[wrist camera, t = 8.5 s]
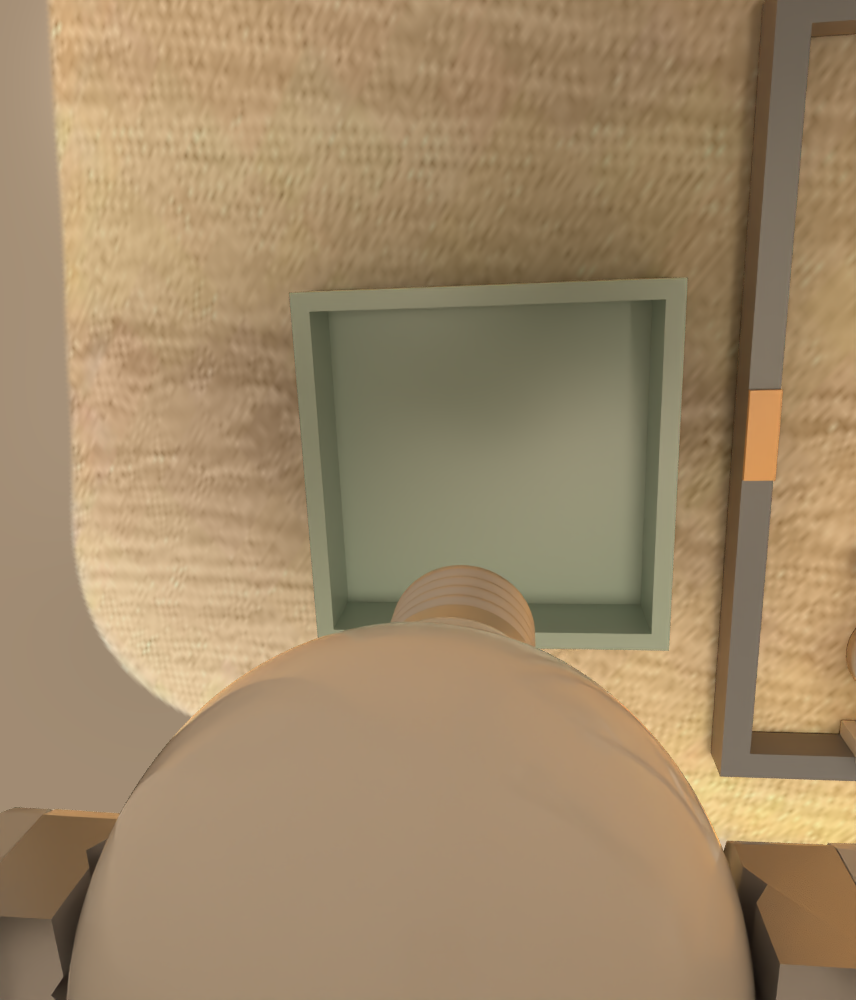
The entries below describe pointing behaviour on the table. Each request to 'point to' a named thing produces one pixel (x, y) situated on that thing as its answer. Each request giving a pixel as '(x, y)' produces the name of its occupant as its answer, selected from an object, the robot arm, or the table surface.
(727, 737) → the rail
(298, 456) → the table surface
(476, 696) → the lightbulb
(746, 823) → the table surface
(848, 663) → the cylinder
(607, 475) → the tray
